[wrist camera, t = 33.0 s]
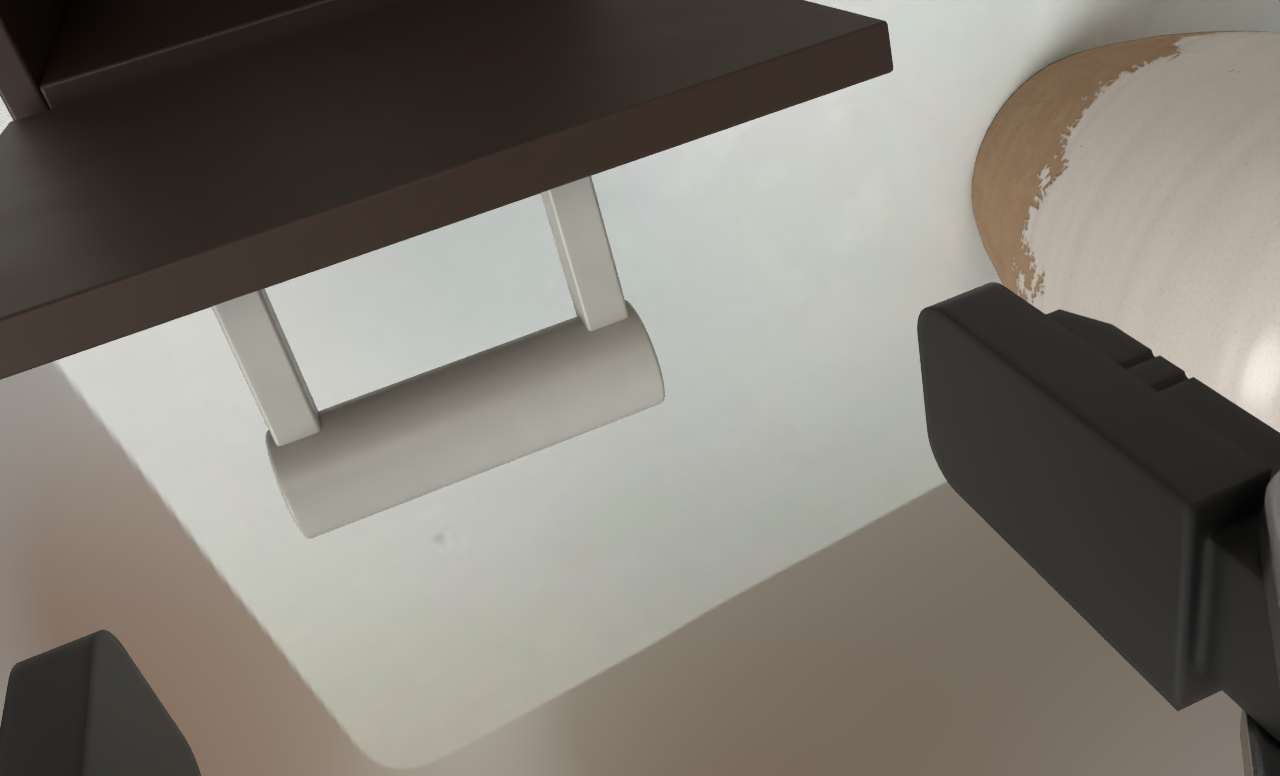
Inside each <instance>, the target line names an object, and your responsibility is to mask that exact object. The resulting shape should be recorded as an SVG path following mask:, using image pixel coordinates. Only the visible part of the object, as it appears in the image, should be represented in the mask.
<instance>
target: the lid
mask: <svg viewBox="0 0 1280 776" xmlns="http://www.w3.org/2000/svg"><path fill="white" fill-rule="evenodd" d="M891 71H893V62H892V55H891V47H890V40H889V32H888V25H887V23H886V21H883V20H879V19H875V18H871V17H867V16H863V15H859V14H856V13H852V12H848V11H844V10H840V9H836V8H832V7H828V6H824V5H820V4H817V3H813V2H809V1H805V0H404V1H401V2H398V3H394V4H391V5H388V6H385V7H381V8H378V9H375V10H372V11H368V12H365V13H362V14H359V15H355V16H352V17H349V18H346V19H342V20H339V21H336V22H333V23H329V24H326V25H323V26H320V27H316V28H313V29H310V30H307V31H303V32H300V33H297V34H294V35H290V36H287V37H284V38H281V39H277V40H274V41H271V42H268V43H264V44H261V45H258V46H255V47H251V48H248V49H245V50H242V51H238V52H235V53H232V54H229V55H226V56H222V57H219V58H216V59H213V60H209V61H206V62H203V63H200V64H196V65H193V66H190V67H187V68H183V69H180V70H177V71H174V72H170V73H167V74H164V75H161V76H157V77H154V78H151V79H148V80H144V81H141V82H138V83H135V84H131V85H128V86H125V87H122V88H118V89H115V90H112V91H109V92H105V93H102V94H99V95H96V96H92V97H89V98H86V99H83V100H79V101H76V102H73V103H70V104H66V105H63V106H60V107H57V108H53V109H50V110H47V111H44V112H40V113H37V114H34V115H31V116H27V117H24V118H21V119H18V120H14V121H11V122H10V123H9V124H8V126H7V127H6V128H5V130H4V131H3V132H2V134H1V135H0V380H1V379H3V378H6V377H9V376H12V375H15V374H18V373H20V372H23V371H27V370H30V369H32V368H35V367H38V366H41V365H44V364H47V363H50V362H53V361H56V360H59V359H61V358H64V357H67V356H70V355H73V354H76V353H79V352H82V351H85V350H87V349H90V348H93V347H96V346H99V345H102V344H105V343H108V342H111V341H114V340H116V339H119V338H122V337H125V336H128V335H131V334H134V333H137V332H140V331H143V330H145V329H148V328H151V327H154V326H157V325H160V324H163V323H166V322H169V321H171V320H174V319H177V318H180V317H183V316H186V315H189V314H192V313H195V312H198V311H200V310H203V309H206V308H209V307H212V309H213V311H214V313H215V315H216V317H217V319H218V321H219V324H220V326H221V328H222V330H223V332H224V334H225V336H226V339H227V341H228V343H229V345H230V347H231V349H232V351H233V354H234V356H235V358H236V360H237V362H238V364H239V366H240V369H241V371H242V373H243V375H244V377H245V379H246V381H247V384H248V386H249V388H250V390H251V392H252V394H253V396H254V399H255V401H256V403H257V405H258V407H259V409H260V412H261V414H262V416H263V418H264V420H265V422H266V424H267V427H268V429H269V430H268V431H267V432H266V446H267V450H268V455H269V458H270V462H271V465H272V468H273V471H274V474H275V477H276V480H277V483H278V485H279V488H280V490H281V493H282V495H283V498H284V500H285V503H286V505H287V507H288V509H289V511H290V513H291V516H292V518H293V519H294V521H295V523H296V525H297V527H298V528H299V530H300V531H301V533H302V534H303V535H304V536H305V537H306V538H314V537H316V536H319V535H321V534H324V533H327V532H329V531H332V530H334V529H337V528H340V527H342V526H345V525H347V524H350V523H353V522H355V521H358V520H360V519H363V518H365V517H368V516H371V515H373V514H376V513H378V512H381V511H384V510H386V509H389V508H391V507H394V506H397V505H399V504H402V503H404V502H407V501H409V500H412V499H415V498H417V497H420V496H422V495H425V494H428V493H430V492H433V491H435V490H438V489H441V488H443V487H446V486H448V485H451V484H454V483H456V482H459V481H461V480H464V479H466V478H469V477H472V476H474V475H477V474H479V473H482V472H485V471H487V470H490V469H492V468H495V467H498V466H500V465H503V464H505V463H508V462H510V461H513V460H516V459H518V458H521V457H523V456H526V455H529V454H531V453H534V452H536V451H539V450H542V449H544V448H547V447H549V446H552V445H554V444H557V443H560V442H562V441H565V440H567V439H570V438H573V437H575V436H578V435H580V434H583V433H586V432H588V431H591V430H593V429H596V428H599V427H601V426H604V425H606V424H609V423H611V422H614V421H617V420H619V419H622V418H624V417H627V416H630V415H632V414H635V413H637V412H640V411H643V410H645V409H648V408H650V407H653V406H655V405H658V404H660V403H662V402H663V401H664V397H665V391H664V382H663V377H662V373H661V369H660V366H659V362H658V359H657V356H656V353H655V350H654V348H653V345H652V342H651V340H650V338H649V335H648V333H647V331H646V329H645V326H644V324H643V322H642V321H641V319H640V317H639V315H638V314H637V312H636V311H635V309H634V308H633V307H632V305H631V304H630V303H629V302H628V301H626V300H625V299H624V296H623V292H622V288H621V285H620V281H619V277H618V274H617V270H616V266H615V263H614V259H613V255H612V252H611V248H610V244H609V241H608V237H607V233H606V230H605V226H604V222H603V219H602V215H601V211H600V208H599V204H598V200H597V197H596V193H595V189H594V186H593V182H592V178H591V175H594V174H597V173H600V172H603V171H606V170H609V169H612V168H615V167H617V166H620V165H623V164H626V163H629V162H632V161H635V160H638V159H641V158H644V157H646V156H649V155H652V154H655V153H658V152H661V151H664V150H667V149H670V148H672V147H675V146H678V145H681V144H684V143H687V142H690V141H693V140H696V139H699V138H701V137H704V136H707V135H710V134H713V133H716V132H719V131H722V130H725V129H728V128H730V127H733V126H736V125H739V124H742V123H745V122H748V121H751V120H754V119H756V118H759V117H762V116H765V115H768V114H771V113H774V112H777V111H780V110H783V109H785V108H788V107H791V106H794V105H797V104H800V103H803V102H806V101H809V100H811V99H814V98H817V97H820V96H823V95H826V94H829V93H832V92H835V91H838V90H840V89H843V88H846V87H849V86H852V85H855V84H858V83H861V82H864V81H867V80H869V79H872V78H875V77H878V76H881V75H884V74H887V73H890V72H891ZM539 193H541V196H542V199H543V203H544V206H545V209H546V213H547V216H548V219H549V223H550V226H551V230H552V233H553V236H554V240H555V243H556V246H557V250H558V253H559V256H560V260H561V263H562V267H563V270H564V273H565V277H566V280H567V283H568V287H569V290H570V294H571V297H572V300H573V304H574V307H575V310H576V314H577V317H575V318H572V319H569V320H566V321H564V322H561V323H558V324H556V325H553V326H550V327H547V328H545V329H542V330H539V331H537V332H534V333H531V334H528V335H526V336H523V337H520V338H517V339H515V340H512V341H509V342H507V343H504V344H501V345H498V346H496V347H493V348H490V349H487V350H485V351H482V352H479V353H477V354H474V355H471V356H468V357H466V358H463V359H460V360H458V361H455V362H452V363H449V364H447V365H444V366H441V367H438V368H436V369H433V370H430V371H428V372H425V373H422V374H419V375H417V376H414V377H411V378H408V379H406V380H403V381H400V382H398V383H395V384H392V385H389V386H387V387H384V388H381V389H379V390H376V391H373V392H370V393H368V394H365V395H362V396H359V397H357V398H354V399H351V400H349V401H346V402H343V403H340V404H338V405H335V406H332V407H329V408H327V409H324V410H321V411H319V412H318V410H317V408H316V405H315V403H314V401H313V398H312V396H311V394H310V392H309V389H308V387H307V385H306V382H305V380H304V378H303V376H302V373H301V371H300V369H299V366H298V364H297V362H296V360H295V357H294V355H293V353H292V350H291V348H290V346H289V344H288V341H287V339H286V337H285V334H284V332H283V330H282V328H281V325H280V323H279V321H278V318H277V316H276V314H275V312H274V309H273V307H272V305H271V302H270V300H269V298H268V296H267V293H266V291H265V289H264V288H267V287H270V286H273V285H276V284H279V283H282V282H284V281H287V280H290V279H293V278H296V277H299V276H302V275H305V274H308V273H310V272H313V271H316V270H319V269H322V268H325V267H328V266H331V265H334V264H337V263H339V262H342V261H345V260H348V259H351V258H354V257H357V256H360V255H363V254H366V253H368V252H371V251H374V250H377V249H380V248H383V247H386V246H389V245H392V244H394V243H397V242H400V241H403V240H406V239H409V238H412V237H415V236H418V235H421V234H423V233H426V232H429V231H432V230H435V229H438V228H441V227H444V226H447V225H449V224H452V223H455V222H458V221H461V220H464V219H467V218H470V217H473V216H476V215H478V214H481V213H484V212H487V211H490V210H493V209H496V208H499V207H502V206H505V205H507V204H510V203H513V202H516V201H519V200H522V199H525V198H528V197H531V196H533V195H536V194H539Z"/></svg>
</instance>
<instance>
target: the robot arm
mask: <svg viewBox="0 0 1280 776" xmlns="http://www.w3.org/2000/svg"><path fill="white" fill-rule="evenodd" d="M917 331H918V342H919V352H920V362H921V372H922V382H923V392H924V402H925V412H926V422H927V431H928V438H929V442H930V446H931V449H932V452H933V454H934V457H935V459H936V462H937V464H938V466H939V468H940V470H941V472H942V473H943V475H944V477H945V478H946V480H947V481H948V483H949V484H950V485H951V486H952V488H953V489H954V490H955V491H956V492H957V493H958V494H959V495H960V496H961V497H962V498H963V499H964V500H965V501H966V502H967V503H968V504H969V505H970V506H971V507H972V508H973V509H974V510H975V511H976V512H977V513H978V514H979V515H980V516H981V517H982V518H983V519H984V520H985V521H986V522H987V523H988V524H989V525H990V526H991V527H992V528H993V529H994V530H995V531H996V532H997V533H998V534H999V535H1001V537H1002V538H1003V539H1004V540H1005V541H1006V542H1007V543H1008V544H1009V545H1010V546H1011V547H1012V548H1013V549H1014V550H1015V551H1016V552H1017V553H1018V554H1020V556H1021V557H1022V558H1023V559H1024V560H1025V561H1027V563H1028V564H1029V565H1030V566H1031V567H1032V568H1034V569H1035V570H1036V571H1037V572H1038V573H1039V574H1040V575H1041V576H1042V577H1043V578H1044V579H1045V580H1046V581H1047V582H1048V583H1049V584H1050V585H1051V586H1052V587H1053V588H1054V589H1055V590H1056V591H1057V592H1058V593H1059V594H1060V595H1061V596H1062V597H1063V598H1064V599H1065V600H1066V601H1067V602H1068V603H1069V604H1070V605H1071V606H1072V607H1073V608H1074V609H1075V610H1076V611H1077V612H1078V613H1079V614H1080V615H1081V616H1082V617H1083V618H1084V619H1085V620H1086V621H1087V622H1088V623H1089V624H1090V625H1091V626H1092V627H1093V628H1094V629H1095V630H1096V631H1097V632H1098V633H1099V634H1100V635H1101V636H1102V637H1103V638H1104V639H1105V640H1106V641H1107V642H1109V644H1110V645H1111V646H1112V647H1113V648H1115V650H1116V651H1117V652H1119V654H1120V655H1121V656H1122V657H1123V658H1124V659H1125V660H1127V661H1128V662H1129V663H1130V664H1131V665H1132V666H1133V667H1134V668H1135V669H1136V670H1137V671H1138V672H1139V673H1140V674H1141V675H1142V676H1143V677H1144V678H1145V679H1146V680H1147V681H1148V682H1149V683H1150V684H1151V685H1152V686H1153V687H1154V688H1155V689H1156V690H1157V691H1158V692H1159V693H1160V694H1161V695H1162V696H1163V697H1164V698H1165V699H1166V700H1167V701H1168V702H1169V703H1170V704H1171V705H1172V706H1173V707H1174V708H1175V709H1176V710H1177V711H1179V710H1181V709H1183V708H1185V707H1187V706H1190V705H1192V704H1194V703H1196V702H1198V701H1200V700H1202V699H1204V698H1206V697H1208V696H1211V695H1213V694H1215V693H1217V692H1219V691H1221V690H1223V691H1224V692H1225V693H1226V694H1227V695H1228V696H1229V697H1230V698H1231V699H1233V700H1234V701H1235V702H1236V703H1237V704H1238V705H1239V706H1240V707H1241V708H1242V710H1241V720H1240V738H1241V747H1242V755H1243V765H1244V772H1245V776H1280V433H1279V432H1278V431H1276V430H1275V429H1273V428H1272V427H1270V426H1269V425H1267V424H1266V423H1264V422H1262V421H1261V420H1259V419H1258V418H1256V417H1255V416H1253V415H1252V414H1250V413H1248V412H1247V411H1245V410H1244V409H1242V408H1241V407H1239V406H1238V405H1236V404H1235V403H1233V402H1231V401H1230V400H1228V399H1227V398H1225V397H1224V396H1222V395H1221V394H1219V393H1218V392H1216V391H1214V390H1213V389H1211V388H1210V387H1208V386H1207V385H1205V384H1204V383H1202V382H1201V381H1199V380H1197V379H1196V378H1194V377H1192V378H1190V379H1188V378H1187V376H1186V374H1185V371H1184V370H1182V369H1180V368H1179V367H1177V366H1176V365H1174V364H1173V363H1171V362H1170V361H1168V360H1166V359H1165V358H1163V357H1162V356H1160V355H1159V356H1157V357H1155V356H1154V355H1153V353H1152V350H1151V349H1149V348H1148V347H1146V346H1145V345H1143V344H1142V343H1140V342H1139V341H1137V340H1136V339H1134V338H1132V337H1131V336H1129V335H1128V334H1126V333H1125V332H1123V331H1122V330H1120V329H1119V328H1117V327H1115V326H1114V325H1112V324H1109V323H1106V322H1102V321H1099V320H1095V319H1092V318H1088V317H1085V316H1081V315H1078V314H1074V313H1071V312H1067V311H1064V310H1061V309H1058V310H1056V311H1053V312H1051V313H1048V314H1044V313H1043V312H1041V311H1040V310H1038V309H1037V308H1036V307H1034V306H1033V305H1031V304H1030V303H1028V302H1027V301H1025V300H1024V299H1022V298H1021V297H1019V296H1018V295H1017V294H1015V293H1014V292H1012V291H1011V290H1009V289H1008V288H1006V287H1005V286H1003V285H1001V284H998V283H988V284H985V285H983V286H980V287H978V288H975V289H973V290H970V291H968V292H965V293H962V294H960V295H957V296H955V297H952V298H950V299H947V300H945V301H942V302H940V303H937V304H935V305H932V306H929V307H927V308H924V309H923V310H922V311H921V313H920V315H919V318H918V325H917ZM0 776H201V774H200V771H199V767H198V765H197V762H196V759H195V757H194V755H193V752H192V750H191V748H190V746H189V744H188V743H187V741H186V739H185V737H184V736H183V734H182V733H181V731H180V730H179V728H178V727H177V725H176V724H175V722H174V721H173V719H172V718H171V716H170V715H169V713H168V712H167V710H166V709H165V708H164V706H163V705H162V703H161V702H160V700H159V699H158V697H157V696H156V694H155V693H154V691H153V690H152V688H151V687H150V685H149V684H148V682H147V681H146V679H145V678H144V677H143V675H142V674H141V672H140V670H139V669H138V668H137V666H136V665H135V663H134V662H133V660H132V659H131V658H130V656H129V654H128V653H127V651H126V650H125V648H124V647H123V646H122V644H121V643H120V641H119V640H118V639H117V638H116V637H115V636H114V635H113V634H111V633H110V632H109V631H106V630H100V631H98V632H95V633H92V634H90V635H87V636H85V637H82V638H80V639H77V640H75V641H72V642H70V643H67V644H64V645H62V646H59V647H57V648H55V649H52V650H49V651H47V652H44V653H42V654H39V655H37V656H34V657H31V658H29V659H26V660H24V661H21V662H19V663H17V664H16V665H14V667H13V668H12V670H11V672H10V676H9V681H8V686H7V692H6V698H5V704H4V710H3V716H2V722H1V727H0Z"/></svg>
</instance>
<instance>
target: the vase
mask: <svg viewBox="0 0 1280 776" xmlns="http://www.w3.org/2000/svg"><path fill="white" fill-rule="evenodd" d="M972 203H973V211H974V216H975V220H976V223H977V227H978V230H979V233H980V236H981V239H982V242H983V245H984V248H985V250H986V252H987V254H988V256H989V258H990V260H991V262H992V264H993V266H994V268H995V270H996V272H997V274H998V276H999V278H1000V280H1001V282H1002V284H1003V286H1005V287H1006V288H1008V289H1009V290H1011V291H1012V292H1014V293H1015V294H1017V295H1018V296H1019V297H1021V298H1022V299H1024V300H1025V301H1027V302H1028V303H1030V304H1031V305H1033V306H1034V307H1036V308H1037V309H1038V310H1040V311H1041V312H1043V313H1044V314H1048V313H1051V312H1053V311H1056V310H1058V309H1061V310H1064V311H1067V312H1071V313H1074V314H1078V315H1081V316H1085V317H1088V318H1092V319H1095V320H1099V321H1102V322H1106V323H1109V324H1112V325H1114V326H1115V327H1117V328H1119V329H1120V330H1122V331H1123V332H1125V333H1126V334H1128V335H1129V336H1131V337H1132V338H1134V339H1136V340H1137V341H1139V342H1140V343H1142V344H1143V345H1145V346H1146V347H1148V348H1149V349H1151V350H1152V353H1153V355H1154V356H1155V357H1157V356H1159V355H1160V356H1162V357H1163V358H1165V359H1166V360H1168V361H1170V362H1171V363H1173V364H1174V365H1176V366H1177V367H1179V368H1180V369H1182V370H1184V371H1185V374H1186V376H1187V378H1188V379H1190V378H1192V377H1194V378H1196V379H1197V380H1199V381H1201V382H1202V383H1204V384H1205V385H1207V386H1208V387H1210V388H1211V389H1213V390H1214V391H1216V392H1218V393H1219V394H1221V395H1222V396H1224V397H1225V398H1227V399H1228V400H1230V401H1231V402H1233V403H1235V404H1236V405H1238V406H1239V407H1241V408H1242V409H1244V410H1245V411H1247V412H1248V413H1250V414H1252V415H1253V416H1255V417H1256V418H1258V419H1259V420H1261V421H1262V422H1264V423H1266V424H1267V425H1269V426H1270V427H1272V428H1273V429H1275V430H1276V431H1278V432H1279V433H1280V33H1278V32H1261V31H1214V32H1197V33H1184V34H1171V35H1161V36H1155V37H1150V38H1144V39H1138V40H1133V41H1127V42H1122V43H1116V44H1111V45H1106V46H1102V47H1098V48H1094V49H1090V50H1087V51H1083V52H1080V53H1077V54H1074V55H1071V56H1069V57H1067V58H1064V59H1062V60H1060V61H1057V62H1055V63H1053V64H1051V65H1049V66H1048V67H1046V68H1044V69H1043V70H1041V71H1039V72H1038V73H1036V74H1035V75H1034V76H1032V77H1031V78H1030V79H1029V80H1028V81H1026V82H1025V83H1024V84H1023V85H1022V86H1021V87H1020V88H1019V89H1018V90H1017V91H1016V92H1015V93H1014V94H1013V95H1012V96H1011V97H1010V98H1009V99H1008V100H1007V102H1006V103H1005V104H1004V106H1003V107H1002V108H1001V110H1000V111H999V112H998V114H997V115H996V117H995V119H994V120H993V122H992V124H991V125H990V127H989V129H988V131H987V133H986V135H985V137H984V140H983V142H982V144H981V146H980V150H979V153H978V156H977V159H976V162H975V167H974V173H973V179H972Z"/></svg>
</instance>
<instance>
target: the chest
mask: <svg viewBox="0 0 1280 776" xmlns="http://www.w3.org/2000/svg"><path fill="white" fill-rule="evenodd" d="M401 1H404V0H0V96H1V98H2V100H3V102H4V104H5V105H6V107H7V109H8V111H9V113H10V115H11V117H12V118H13V120H18V119H21V118H24V117H27V116H31V115H34V114H37V113H40V112H44V111H47V110H50V109H53V108H57V107H60V106H63V105H66V104H70V103H73V102H76V101H79V100H83V99H86V98H89V97H92V96H96V95H99V94H102V93H105V92H109V91H112V90H115V89H118V88H122V87H125V86H128V85H131V84H135V83H138V82H141V81H144V80H148V79H151V78H154V77H157V76H161V75H164V74H167V73H170V72H174V71H177V70H180V69H183V68H187V67H190V66H193V65H196V64H200V63H203V62H206V61H209V60H213V59H216V58H219V57H222V56H226V55H229V54H232V53H235V52H238V51H242V50H245V49H248V48H251V47H255V46H258V45H261V44H264V43H268V42H271V41H274V40H277V39H281V38H284V37H287V36H290V35H294V34H297V33H300V32H303V31H307V30H310V29H313V28H316V27H320V26H323V25H326V24H329V23H333V22H336V21H339V20H342V19H346V18H349V17H352V16H355V15H359V14H362V13H365V12H368V11H372V10H375V9H378V8H381V7H385V6H388V5H391V4H394V3H398V2H401Z"/></svg>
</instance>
